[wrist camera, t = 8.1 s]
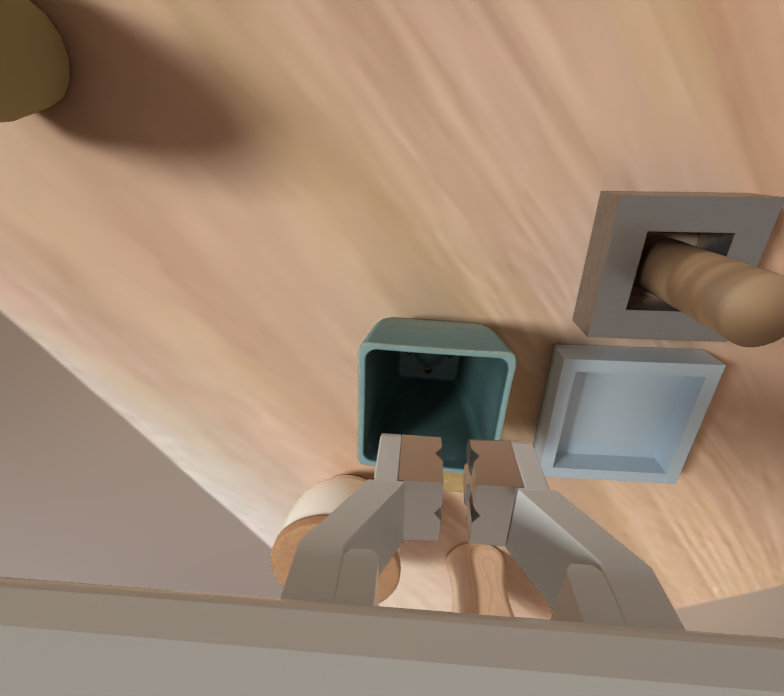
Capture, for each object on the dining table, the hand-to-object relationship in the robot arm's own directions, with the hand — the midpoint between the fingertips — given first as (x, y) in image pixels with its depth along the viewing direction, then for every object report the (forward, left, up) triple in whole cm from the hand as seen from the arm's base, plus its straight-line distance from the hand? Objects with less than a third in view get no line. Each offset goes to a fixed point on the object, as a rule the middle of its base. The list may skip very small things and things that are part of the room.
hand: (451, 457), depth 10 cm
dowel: (0, +15, -21) cm, 25 cm away
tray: (+12, +15, -21) cm, 28 cm away
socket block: (0, +15, -21) cm, 25 cm away
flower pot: (+7, 0, -21) cm, 22 cm away
